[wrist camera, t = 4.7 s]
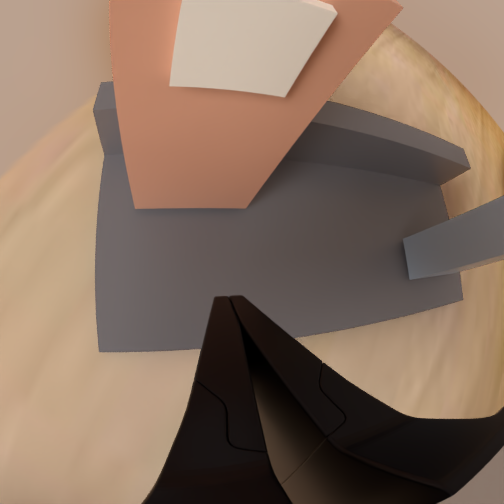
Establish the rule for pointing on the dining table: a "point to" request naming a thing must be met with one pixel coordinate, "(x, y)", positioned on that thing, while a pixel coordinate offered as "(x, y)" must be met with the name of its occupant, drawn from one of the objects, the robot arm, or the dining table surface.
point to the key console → (277, 236)
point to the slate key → (458, 243)
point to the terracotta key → (226, 88)
